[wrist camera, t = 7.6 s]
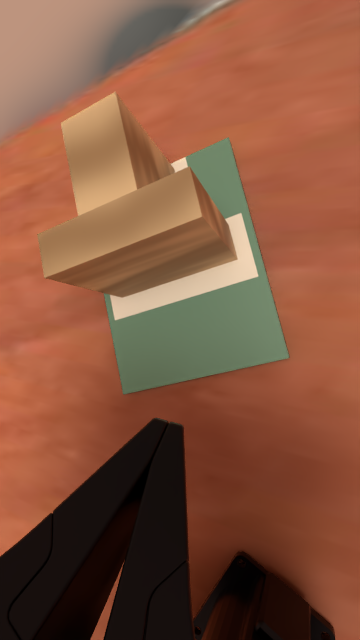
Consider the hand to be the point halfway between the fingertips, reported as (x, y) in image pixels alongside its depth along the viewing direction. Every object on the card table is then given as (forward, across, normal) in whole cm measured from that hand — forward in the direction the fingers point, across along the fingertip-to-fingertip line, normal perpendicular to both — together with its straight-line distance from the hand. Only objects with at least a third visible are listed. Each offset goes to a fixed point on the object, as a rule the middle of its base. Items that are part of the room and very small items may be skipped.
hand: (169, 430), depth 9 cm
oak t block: (+17, +6, +1) cm, 18 cm away
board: (+16, +4, +3) cm, 16 cm away
